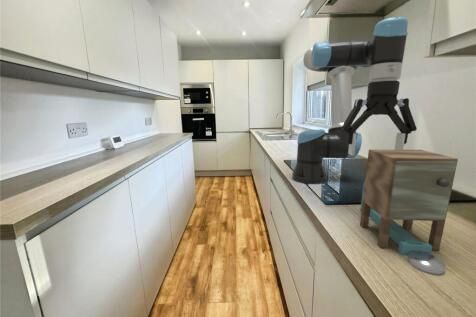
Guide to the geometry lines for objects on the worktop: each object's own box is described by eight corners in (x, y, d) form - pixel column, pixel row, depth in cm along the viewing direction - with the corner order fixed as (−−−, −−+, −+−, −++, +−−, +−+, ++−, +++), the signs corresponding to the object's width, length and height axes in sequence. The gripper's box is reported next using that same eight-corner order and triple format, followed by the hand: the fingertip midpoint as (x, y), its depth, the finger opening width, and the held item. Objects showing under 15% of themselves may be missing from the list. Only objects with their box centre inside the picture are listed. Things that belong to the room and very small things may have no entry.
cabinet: (359, 224, 64) (368, 149, 59) (408, 226, 62) (420, 149, 58) (384, 252, 51) (398, 160, 46) (445, 255, 50) (465, 160, 45)
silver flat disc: (401, 256, 50) (402, 250, 50) (429, 257, 50) (430, 251, 50) (420, 275, 45) (421, 269, 44) (452, 276, 44) (454, 270, 44)
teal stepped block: (357, 210, 73) (361, 181, 71) (376, 211, 72) (380, 181, 70) (402, 254, 50) (409, 214, 48) (430, 256, 50) (438, 215, 48)
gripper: (343, 80, 60) (336, 157, 64) (441, 78, 58) (427, 157, 63) (333, 83, 67) (328, 152, 72) (420, 81, 65) (409, 152, 70)
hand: (374, 154), depth 67 cm, fingers open, 13 cm apart
